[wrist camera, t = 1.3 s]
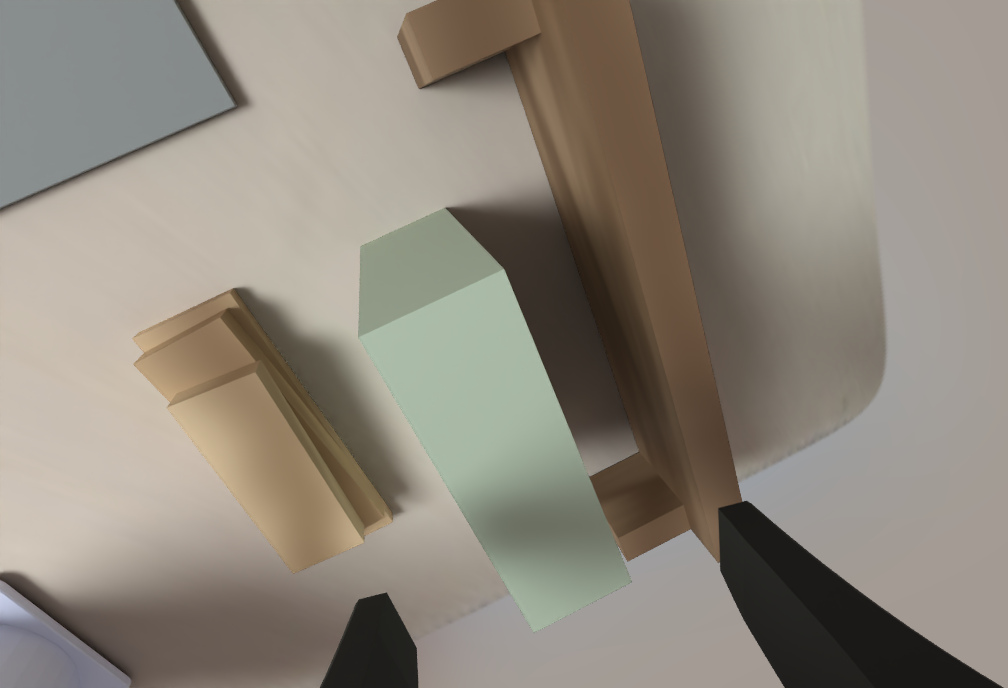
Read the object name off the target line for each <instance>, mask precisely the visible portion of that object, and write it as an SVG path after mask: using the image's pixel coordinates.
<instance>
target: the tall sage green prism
mask: <svg viewBox="0 0 1008 688" xmlns="http://www.w3.org/2000/svg"><path fill="white" fill-rule="evenodd" d="M358 338H359V339H360V341H361V343H362V344H363V346H364V348H365V350H366V351H367V353H368V355H369V356H370V358H371V360H372V361H373V363H374V365H375V366H376V368H377V370H378V371H379V373H380V375H381V376H382V378H383V380H384V382H385V383H386V385H387V387H388V388H389V390H390V392H391V393H392V395H393V397H394V398H395V400H396V402H397V403H398V405H399V407H400V409H401V410H402V412H403V414H404V415H405V417H406V419H407V420H408V422H409V424H410V425H411V427H412V429H413V430H414V432H415V434H416V435H417V437H418V439H419V441H420V442H421V444H422V446H423V447H424V449H425V451H426V452H427V454H428V456H429V457H430V459H431V461H432V462H433V464H434V466H435V467H436V469H437V471H438V473H439V474H440V476H441V478H442V479H443V481H444V483H445V484H446V486H447V488H448V489H449V491H450V493H451V494H452V496H453V498H454V500H455V501H456V503H457V505H458V506H459V508H460V510H461V511H462V513H463V515H464V516H465V518H466V520H467V521H468V523H469V525H470V526H471V528H472V530H473V532H474V533H475V535H476V537H477V538H478V540H479V542H480V543H481V545H482V547H483V548H484V550H485V552H486V553H487V555H488V557H489V559H490V560H491V562H492V564H493V565H494V567H495V569H496V570H497V572H498V574H499V575H500V577H501V579H502V580H503V582H504V584H505V585H506V587H507V589H508V591H509V592H510V594H511V596H512V597H513V598H514V601H515V602H516V604H517V606H518V607H519V609H520V611H521V612H522V614H523V616H524V618H525V619H526V621H527V622H528V624H529V626H530V627H531V629H532V631H533V633H535V632H537V631H539V630H541V629H543V628H545V627H547V626H549V625H550V624H552V623H554V622H556V621H558V620H560V619H562V618H564V617H566V616H568V615H570V614H571V613H574V612H575V611H577V610H579V609H581V608H583V607H585V606H587V605H589V604H591V603H593V602H595V601H597V600H599V599H601V598H602V597H604V596H606V595H608V594H610V593H612V592H614V591H616V590H618V589H620V588H622V587H624V586H626V585H627V584H629V583H631V582H632V581H631V578H630V576H629V573H628V571H627V568H626V566H625V564H624V561H623V559H622V556H621V554H620V551H619V549H618V546H617V544H616V542H615V539H614V537H613V534H612V532H611V529H610V527H609V524H608V522H607V519H606V517H605V515H604V512H603V510H602V507H601V505H600V502H599V500H598V497H597V495H596V493H595V490H594V488H593V485H592V483H591V480H590V478H589V475H588V473H587V471H586V468H585V466H584V463H583V461H582V458H581V456H580V453H579V451H578V449H577V446H576V444H575V441H574V439H573V436H572V434H571V431H570V429H569V427H568V424H567V422H566V419H565V417H564V414H563V412H562V409H561V407H560V405H559V402H558V400H557V397H556V395H555V392H554V390H553V387H552V385H551V382H550V380H549V378H548V375H547V373H546V370H545V368H544V365H543V363H542V360H541V358H540V356H539V353H538V351H537V348H536V346H535V343H534V341H533V338H532V336H531V334H530V331H529V329H528V326H527V324H526V321H525V319H524V316H523V314H522V312H521V309H520V307H519V304H518V302H517V299H516V297H515V294H514V292H513V290H512V287H511V285H510V282H509V280H508V277H507V275H506V272H505V270H504V268H503V267H502V266H501V265H500V264H499V263H498V262H497V261H496V260H495V259H494V258H493V257H492V256H491V255H490V254H489V253H488V252H487V251H486V250H485V249H484V248H483V247H482V246H481V245H480V243H479V242H478V241H477V240H476V239H475V238H474V237H473V236H472V235H471V234H470V233H469V232H468V231H467V230H466V229H465V228H464V227H463V226H462V225H461V224H460V223H459V222H458V221H457V220H456V219H455V218H454V217H453V215H452V214H451V213H450V212H449V211H448V210H447V209H446V208H443V209H441V210H439V211H437V212H435V213H432V214H430V215H428V216H426V217H424V218H421V219H419V220H417V221H415V222H413V223H411V224H408V225H406V226H404V227H402V228H400V229H397V230H395V231H393V232H391V233H389V234H386V235H384V236H382V237H380V238H378V239H376V240H373V241H371V242H369V243H367V244H365V245H362V246H361V248H360V289H359V330H358Z"/></svg>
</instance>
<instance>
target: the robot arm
mask: <svg viewBox="0 0 1008 688" xmlns="http://www.w3.org/2000/svg"><path fill="white" fill-rule="evenodd" d="M718 521H719V546H720V571H721V573H722V575H723V577H724V579H725V582H726V584H727V586H728V588H729V590H730V592H731V594H732V597H733V599H734V601H735V603H736V605H737V607H738V609H739V611H740V613H741V615H742V617H743V619H744V621H745V622H746V624H747V626H748V628H749V629H750V631H751V633H752V634H753V636H754V638H755V639H756V641H757V643H758V644H759V646H760V648H761V649H762V651H763V653H764V654H765V656H766V658H767V659H768V661H769V663H770V664H771V666H772V668H773V669H774V671H775V673H776V674H777V676H778V677H779V679H780V681H781V682H782V684H783V686H784V687H785V688H1003V687H1002V686H1000V685H998V684H997V683H995V682H993V681H992V680H990V679H988V678H987V677H985V676H984V675H982V674H980V673H979V672H977V671H975V670H974V669H972V668H971V667H969V666H968V665H966V664H965V663H963V662H961V661H960V660H958V659H957V658H955V657H953V656H952V655H950V654H949V653H947V652H946V651H944V650H943V649H941V648H940V647H938V646H937V645H935V644H934V643H932V642H931V641H929V640H928V639H926V638H925V637H923V636H922V635H920V634H919V633H917V632H916V631H914V630H913V629H911V628H910V627H908V626H907V625H906V624H904V623H903V622H901V621H900V620H898V619H897V618H896V617H894V616H893V615H891V614H890V613H889V612H887V611H886V610H884V609H883V608H881V607H880V606H879V605H877V604H876V603H875V602H873V601H872V600H870V599H869V598H868V597H866V596H865V595H864V594H862V593H861V592H859V591H858V590H857V589H855V588H854V587H853V586H852V585H850V584H849V583H848V582H846V581H845V580H844V579H842V578H841V577H840V576H838V575H837V574H836V573H835V572H833V571H832V570H831V569H829V568H828V567H827V566H826V565H824V564H823V563H822V562H821V561H819V560H818V559H817V558H815V557H814V556H813V555H812V554H811V553H809V552H808V551H807V550H806V549H804V548H803V547H802V546H801V545H799V544H798V543H797V542H796V541H795V540H793V539H792V538H791V537H790V536H789V535H787V534H786V533H785V532H784V531H783V530H781V529H780V528H779V527H778V526H777V525H775V524H774V523H773V522H772V521H771V520H769V519H768V518H767V517H766V516H765V515H764V514H763V513H762V512H760V511H759V510H758V509H757V508H756V507H755V506H753V505H752V504H751V503H749V502H748V501H744V502H740V503H736V504H732V505H728V506H724V507H720V508H718ZM130 685H131V679H130V678H129V677H128V676H127V675H125V674H124V673H123V672H121V671H120V670H119V669H118V668H116V667H115V666H114V665H112V664H111V663H110V662H108V661H107V660H106V659H104V658H103V657H102V656H101V655H99V654H98V653H97V652H95V651H94V650H93V649H91V648H90V647H89V646H87V645H86V644H85V643H84V642H82V641H81V640H80V639H78V638H77V637H76V636H74V635H73V634H72V633H70V632H69V631H68V630H67V629H65V628H64V627H63V626H61V625H60V624H59V623H57V622H56V621H55V620H53V619H52V618H51V617H50V616H48V615H47V614H46V613H44V612H43V611H42V610H40V609H39V608H38V607H36V606H35V605H34V604H33V603H31V602H30V601H29V600H27V599H26V598H25V597H23V596H22V595H21V594H19V593H18V592H17V591H16V590H14V589H13V588H12V587H10V586H9V585H8V584H6V583H5V582H3V581H1V580H0V688H129V687H130ZM320 688H418V669H417V648H416V646H415V644H414V642H413V640H412V638H411V637H410V635H409V633H408V631H407V629H406V627H405V625H404V624H403V622H402V620H401V618H400V616H399V614H398V612H397V611H396V609H395V607H394V605H393V603H392V601H391V599H390V598H389V596H388V594H387V592H386V593H383V594H379V595H375V596H371V597H367V598H363V599H359V600H358V602H357V603H356V605H355V607H354V610H353V612H352V615H351V617H350V620H349V622H348V624H347V627H346V629H345V632H344V634H343V636H342V639H341V641H340V643H339V646H338V648H337V650H336V653H335V655H334V657H333V660H332V662H331V664H330V667H329V669H328V671H327V673H326V676H325V678H324V680H323V682H322V684H321V687H320Z"/></svg>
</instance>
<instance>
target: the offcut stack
mask: <svg viewBox="0 0 1008 688" xmlns="http://www.w3.org/2000/svg"><path fill="white" fill-rule="evenodd" d="M132 339H133V340H134V342H135V343H136V344H137V345H138V346H139V347H140V349H141V350H142V351H143V352H144V354H143V355H142V356H141V357H140V358H139V359H138V360H137V361H136V362H135V363H134V364H133V365H134V366H135V367H136V368H137V369H138V370H139V371H140V372H141V373H142V374H143V375H144V376H145V377H146V378H147V379H148V380H149V381H150V382H151V383H152V384H153V385H154V386H155V387H156V389H157V390H158V391H159V392H160V393H161V394H162V395H163V396H164V397H165V398H166V399H167V400H168V401H169V402H170V404H169V405H168V407H167V409H168V410H169V412H170V413H171V414H172V416H173V417H174V418H175V419H176V421H177V422H178V423H179V425H180V426H181V427H182V429H183V430H184V431H185V433H186V434H187V435H188V437H189V438H190V439H191V440H192V442H193V443H194V444H195V446H196V447H197V448H198V450H199V451H200V452H201V454H202V455H203V456H204V458H205V459H206V460H207V461H208V463H209V464H210V465H211V467H212V468H213V469H214V471H215V472H216V473H217V475H218V476H219V477H220V479H221V480H222V481H223V482H224V484H225V485H226V486H227V488H228V489H229V490H230V492H231V493H232V494H233V496H234V497H235V498H236V500H237V501H238V502H239V503H240V505H241V506H242V507H243V509H244V510H245V511H246V513H247V514H248V515H249V517H250V518H251V519H252V521H253V522H254V523H255V524H256V526H257V527H258V528H259V530H260V531H261V532H262V534H263V535H264V536H265V538H266V539H267V540H268V542H269V543H270V544H271V545H272V547H273V548H274V549H275V551H276V552H277V553H278V555H279V556H280V557H281V559H282V560H283V561H284V563H285V564H286V565H287V566H288V568H289V569H290V570H291V572H292V573H293V574H294V573H296V572H299V571H301V570H303V569H306V568H308V567H310V566H312V565H315V564H317V563H319V562H321V561H324V560H326V559H328V558H331V557H333V556H335V555H337V554H340V553H342V552H344V551H346V550H349V549H351V548H353V547H356V546H358V545H360V544H362V543H364V536H366V535H368V534H370V533H372V532H374V531H376V530H378V529H380V528H381V527H383V526H385V525H387V524H389V523H391V522H393V517H392V512H391V510H390V509H389V507H388V506H387V505H386V503H385V502H384V500H383V499H382V498H381V496H380V495H379V493H378V492H377V490H376V489H375V488H374V486H373V485H372V483H371V482H370V481H369V479H368V478H367V476H366V475H365V473H364V472H363V471H362V469H361V468H360V466H359V465H358V464H357V462H356V461H355V459H354V458H353V456H352V455H351V454H350V452H349V451H348V449H347V448H346V447H345V445H344V444H343V442H342V441H341V440H340V438H339V437H338V435H337V434H336V432H335V431H334V430H333V428H332V427H331V425H330V424H329V423H328V421H327V420H326V418H325V417H324V415H323V414H322V413H321V411H320V410H319V408H318V407H317V406H316V404H315V403H314V401H313V400H312V398H311V397H310V396H309V394H308V393H307V391H306V390H305V389H304V387H303V386H302V384H301V383H300V381H299V380H298V379H297V377H296V376H295V374H294V373H293V372H292V370H291V369H290V367H289V366H288V364H287V363H286V362H285V360H284V359H283V357H282V356H281V355H280V353H279V352H278V350H277V349H276V347H275V346H274V345H273V343H272V342H271V340H270V339H269V338H268V336H267V335H266V333H265V332H264V330H263V329H262V328H261V326H260V325H259V323H258V322H257V321H256V319H255V318H254V316H253V315H252V314H251V312H250V311H249V309H248V308H247V306H246V305H245V304H244V302H243V301H242V299H241V298H240V297H239V295H238V294H237V292H236V291H235V289H234V288H233V289H231V290H229V291H226V292H224V293H222V294H220V295H218V296H216V297H214V298H212V299H209V300H207V301H205V302H203V303H201V304H199V305H197V306H194V307H192V308H190V309H188V310H186V311H184V312H182V313H180V314H177V315H175V316H173V317H171V318H169V319H167V320H165V321H163V322H160V323H158V324H156V325H154V326H152V327H150V328H148V329H146V330H143V331H141V332H139V333H138V334H137V335H136V336H135V337H134V338H132Z"/></svg>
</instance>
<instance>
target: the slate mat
mask: <svg viewBox="0 0 1008 688" xmlns="http://www.w3.org/2000/svg"><path fill="white" fill-rule="evenodd" d="M235 107H237V104H236V103H235V101H234V99H233V97H232V96H231V94H230V92H229V90H228V89H227V87H226V85H225V84H224V82H223V80H222V78H221V77H220V75H219V73H218V71H217V70H216V68H215V66H214V65H213V63H212V61H211V59H210V58H209V56H208V54H207V52H206V51H205V49H204V47H203V46H202V44H201V42H200V40H199V39H198V37H197V35H196V33H195V32H194V30H193V28H192V27H191V25H190V23H189V21H188V20H187V18H186V16H185V15H184V13H183V11H182V9H181V8H180V6H179V4H178V2H177V1H176V0H0V209H1V208H4V207H6V206H8V205H11V204H13V203H15V202H18V201H20V200H22V199H24V198H27V197H29V196H31V195H34V194H36V193H38V192H41V191H43V190H45V189H48V188H50V187H52V186H55V185H57V184H59V183H61V182H64V181H66V180H68V179H71V178H73V177H75V176H78V175H80V174H82V173H85V172H87V171H89V170H92V169H94V168H96V167H98V166H101V165H103V164H105V163H108V162H110V161H112V160H115V159H117V158H119V157H122V156H124V155H126V154H128V153H131V152H133V151H135V150H138V149H140V148H142V147H145V146H147V145H149V144H152V143H154V142H156V141H159V140H161V139H163V138H165V137H168V136H170V135H172V134H175V133H177V132H179V131H182V130H184V129H186V128H189V127H191V126H193V125H196V124H198V123H200V122H202V121H205V120H207V119H209V118H212V117H214V116H216V115H219V114H221V113H223V112H226V111H228V110H230V109H233V108H235Z"/></svg>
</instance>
